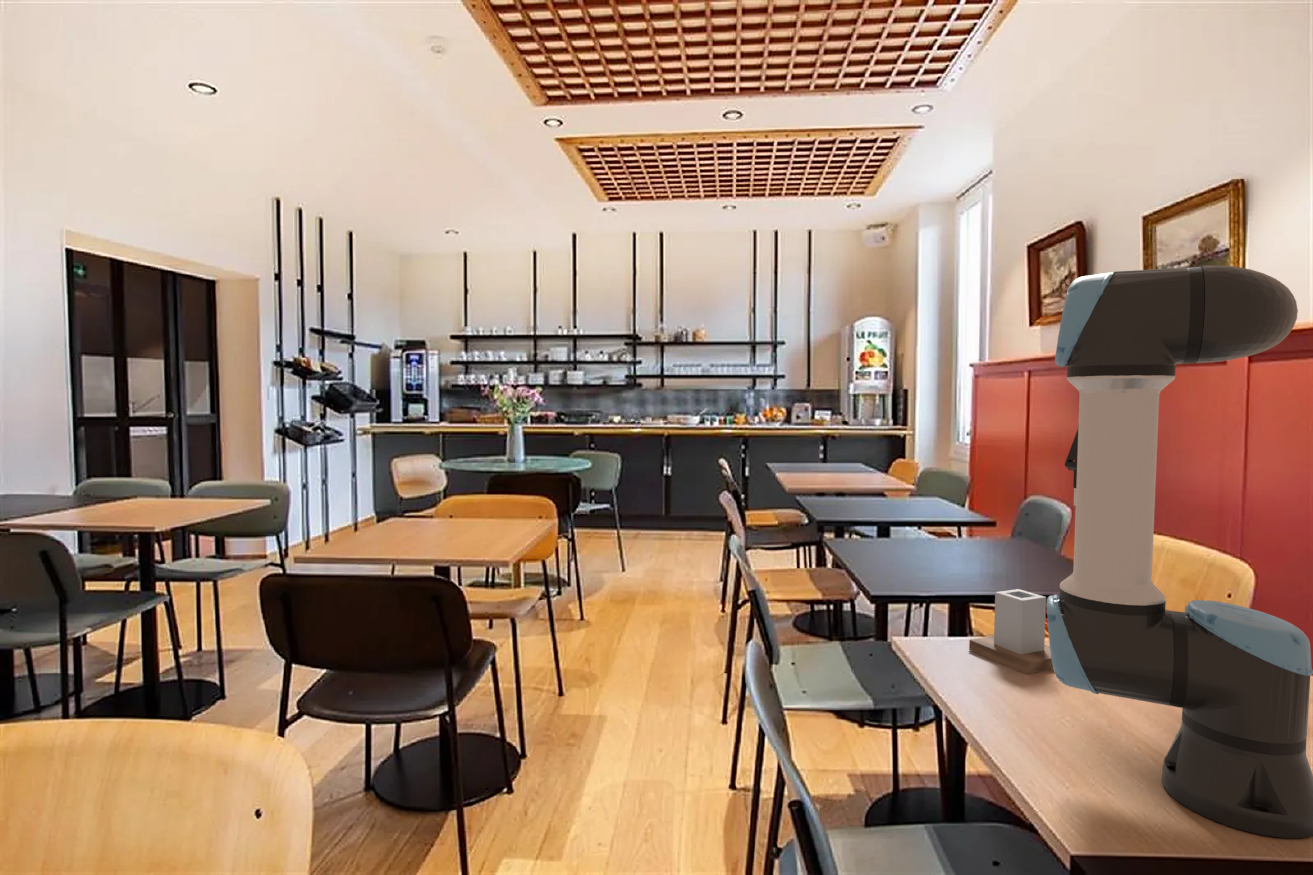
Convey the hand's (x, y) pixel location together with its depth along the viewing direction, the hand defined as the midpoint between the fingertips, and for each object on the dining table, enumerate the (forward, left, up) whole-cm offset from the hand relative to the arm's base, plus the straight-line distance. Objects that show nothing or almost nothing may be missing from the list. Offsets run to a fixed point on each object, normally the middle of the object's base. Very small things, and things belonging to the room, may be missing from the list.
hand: (1106, 504), depth 134 cm
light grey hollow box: (-16, +5, -27) cm, 31 cm away
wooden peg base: (-16, +5, -29) cm, 33 cm away
